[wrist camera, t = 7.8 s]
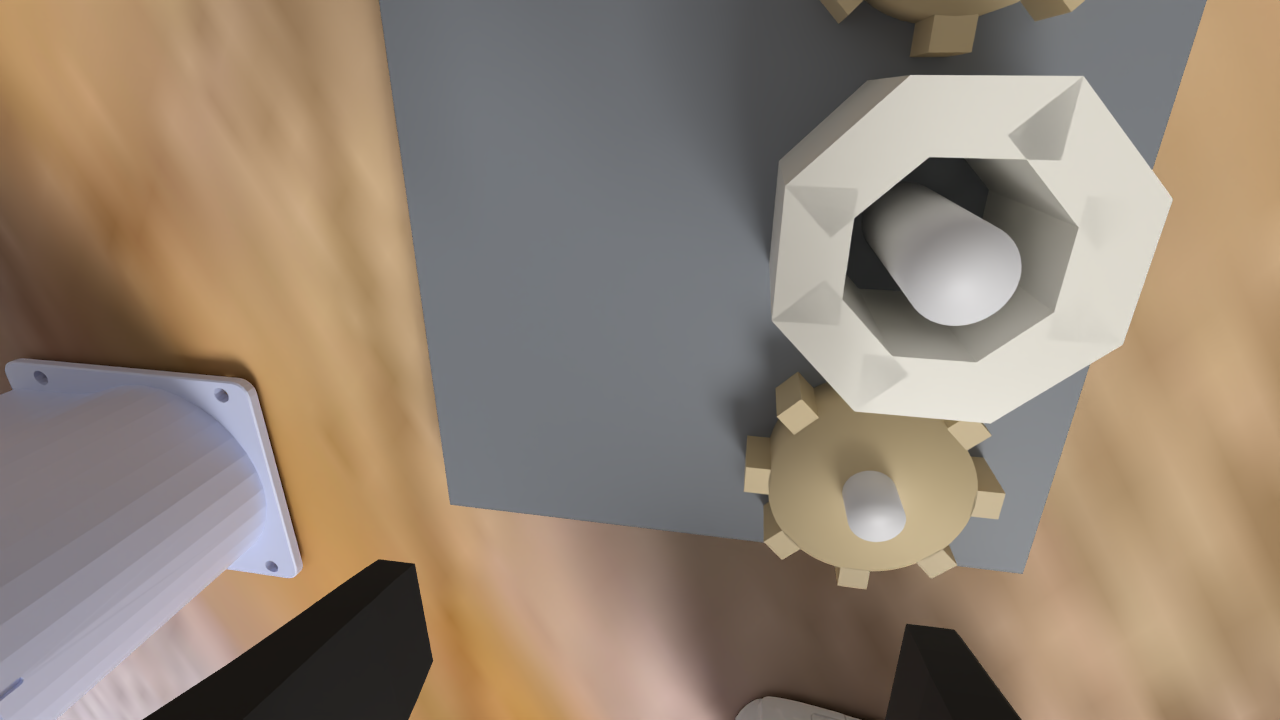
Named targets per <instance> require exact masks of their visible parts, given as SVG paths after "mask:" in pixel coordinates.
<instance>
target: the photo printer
mask: <svg viewBox="0 0 1280 720" xmlns="http://www.w3.org/2000/svg"><path fill="white" fill-rule="evenodd" d="M735 720H861V719H857V718H854V717H850V716H847V715H844V714H841V713H839V712H835V711H831V710H827V709H824V708H820V707H817V706H813V705H809V704H806V703H802V702H798V701H793V700H789V699H783V698H778V697H770V696H767V697H764V698H763V699H756V700H754V701H752V702H750V703H749V704H747V705H746V706H745V707H744V708H743V709H742V710H741V711H740V712H739V714H738V715H737V717H736V718H735Z"/></svg>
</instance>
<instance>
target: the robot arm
mask: <svg viewBox="0 0 1280 720" xmlns="http://www.w3.org/2000/svg"><path fill="white" fill-rule="evenodd" d="M5 373H6V376H7V378H8V380H9V382H10V385H11V387H12V389H13V390H11V391H9V392H6V393H4V394H1V395H0V720H57V719H58V718H59V717H60V716H61V715H62V714H63V713H64V712H66V711H67V710H68V709H69V708H70V707H71V706H72V705H73V704H75V703H76V702H77V701H78V700H79V699H80V698H81V697H83V696H84V695H85V694H86V693H87V692H88V691H89V690H90V689H92V688H93V687H94V686H95V685H96V684H97V683H98V682H99V681H101V680H102V679H103V678H104V677H105V676H106V675H107V674H108V673H110V672H111V671H112V670H113V669H114V668H115V667H116V666H117V665H119V664H120V663H121V662H122V661H123V660H124V659H125V658H126V657H128V656H129V655H130V654H131V653H132V652H133V651H134V650H135V649H137V648H138V647H139V646H140V645H141V644H142V643H143V642H145V641H146V640H147V639H148V638H149V637H150V636H151V635H152V634H154V633H155V632H156V631H157V630H158V629H159V628H160V627H161V626H163V625H164V624H165V623H166V622H167V621H168V620H169V619H170V618H172V617H173V616H174V615H175V614H176V613H177V612H178V611H179V610H181V609H182V608H183V607H184V606H185V605H186V604H187V603H188V602H190V601H191V600H192V599H193V598H194V597H195V596H196V595H198V594H199V593H200V592H201V591H202V590H203V589H204V588H205V587H207V586H208V585H209V584H210V583H211V582H212V581H213V580H214V579H216V578H217V577H218V576H219V575H220V574H221V573H222V572H223V571H225V570H226V569H230V570H237V571H244V572H250V573H257V574H264V575H271V576H277V577H284V578H293V577H295V576H296V575H297V574H298V573H299V572H300V571H301V570H302V568H303V563H302V559H301V556H300V552H299V548H298V545H297V541H296V537H295V533H294V530H293V526H292V522H291V518H290V515H289V511H288V507H287V504H286V500H285V496H284V492H283V489H282V485H281V481H280V478H279V474H278V470H277V466H276V463H275V459H274V455H273V451H272V448H271V444H270V440H269V437H268V433H267V429H266V425H265V422H264V418H263V414H262V411H261V407H260V403H259V399H258V396H257V392H256V390H255V388H254V386H253V385H252V384H251V383H250V382H248V381H247V380H245V379H241V378H235V377H224V376H213V375H202V374H191V373H180V372H169V371H158V370H147V369H136V368H125V367H114V366H103V365H92V364H81V363H70V362H59V361H48V360H37V359H26V358H20V359H16V360H13V361H10V362H8V363H7V364H6V366H5ZM224 390H225V391H226V392H227V394H228V395H227V394H226V393H225V391H224ZM432 662H433V658H432V653H431V648H430V642H429V637H428V632H427V626H426V621H425V616H424V610H423V605H422V600H421V594H420V589H419V584H418V579H417V573H416V568H415V564H412V563H404V562H396V561H388V560H377V561H376V562H374V563H372V564H371V565H369V566H368V567H366V568H365V569H363V570H362V571H360V572H359V573H357V574H356V575H355V576H353V577H352V578H350V579H349V580H347V581H346V582H344V583H343V584H342V585H340V586H339V587H337V588H336V589H335V590H333V591H332V592H330V593H329V594H327V595H326V596H325V597H323V598H322V599H320V600H319V601H318V602H316V603H315V604H313V605H312V606H311V607H309V608H308V609H306V610H305V611H304V612H302V613H301V614H299V615H298V616H296V617H295V618H294V619H292V620H291V621H289V622H288V623H286V624H285V625H284V626H282V627H281V628H279V629H278V630H276V631H275V632H274V633H272V634H271V635H269V636H268V637H266V638H265V639H263V640H262V641H261V642H259V643H258V644H256V645H255V646H253V647H252V648H251V649H249V650H248V651H246V652H245V653H243V654H242V655H240V656H239V657H238V658H236V659H235V660H233V661H232V662H230V663H229V664H227V665H226V666H224V667H223V668H221V669H220V670H218V671H217V672H215V673H213V674H212V675H210V676H209V677H207V678H206V679H204V680H203V681H201V682H200V683H198V684H197V685H195V686H193V687H192V688H190V689H189V690H187V691H186V692H184V693H183V694H181V695H180V696H178V697H177V698H175V699H173V700H172V701H170V702H169V703H167V704H166V705H164V706H163V707H161V708H160V709H158V710H157V711H155V712H154V713H152V714H150V715H149V716H147V717H146V718H144V719H143V720H408V719H409V717H410V715H411V712H412V710H413V708H414V706H415V703H416V701H417V699H418V696H419V694H420V691H421V689H422V687H423V684H424V682H425V679H426V677H427V674H428V672H429V669H430V667H431V665H432ZM885 720H1021V718H1020V717H1019V716H1018V714H1017V713H1016V712H1015V710H1014V709H1013V708H1012V706H1011V705H1010V704H1009V702H1008V701H1007V700H1006V698H1005V697H1004V696H1003V694H1002V693H1001V692H1000V690H999V689H998V687H997V686H996V685H995V683H994V682H993V681H992V679H991V678H990V677H989V675H988V674H987V672H986V671H985V670H984V668H983V667H982V666H981V664H980V663H979V661H978V660H977V659H976V657H975V656H974V655H973V653H972V652H971V651H970V649H969V648H968V646H967V645H966V644H965V642H964V641H963V640H962V638H961V637H960V636H959V635H958V634H957V632H956V631H955V630H952V629H944V628H936V627H928V626H920V625H911V624H906V628H905V632H904V637H903V641H902V646H901V651H900V655H899V660H898V664H897V669H896V673H895V678H894V683H893V687H892V692H891V696H890V701H889V706H888V710H887V715H886V719H885Z"/></svg>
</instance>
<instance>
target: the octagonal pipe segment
mask: <svg viewBox="0 0 1280 720" xmlns="http://www.w3.org/2000/svg"><path fill="white" fill-rule="evenodd" d="M929 157H946V158H964V159H965V160H966V161H967V163H968V164H969V165H970V166H971V168H972V169H973V170H974V171H975V173H976V174H977V175H978V177H979V178H980V179H981V180H982V182H983V183H984V184H985V185H986V187H987V188H988V189H989V192H988V196H987V201H986V205H985V209H984V214H983V218H982V219H983V220H985V221H987V222H989V223H990V224H992V225H994V226H996V227H998V228H999V229H1001V230H1003V231H1004V232H1005V233H1006V234H1008V235H1009V236H1010V237H1011V239H1012V240H1013V241H1014V243H1015V244H1016V246H1017V248H1018V250H1019V253H1020V257H1021V264H1022V267H1021V276H1020V280H1019V283H1018V286H1017V288H1016V290H1015V292H1014V293H1013V295H1012V296H1011V298H1010V299H1009V300H1008V302H1007V303H1006V304H1005V305H1004V306H1003V307H1002V308H1001V309H1000V310H998V311H997V312H996V313H994V314H993V315H991V316H989V317H988V318H986V319H983V320H981V321H979V322H976V323H972V324H968V325H961V326H949V325H943V324H938V323H935V322H933V321H930V320H929V319H927V318H925V317H924V316H922V315H921V314H920V313H919V312H918V311H917V310H916V309H915V308H914V307H913V305H912V304H911V303H910V301H909V300H908V298H907V297H906V296H905V294H904V293H903V291H891V290H874V289H859V288H858V287H857V286H856V285H855V284H854V283H853V282H852V280H851V279H850V278H849V277H848V276H847V275H846V271H847V264H848V257H849V250H850V243H851V236H852V230H853V223H854V218H855V217H856V216H858V215H859V214H860V213H861V212H863V211H864V210H865V209H866V208H867V207H869V206H870V205H871V204H872V203H874V202H875V201H876V200H877V199H879V198H880V197H881V196H882V195H883V194H885V193H886V192H887V191H888V190H890V189H891V188H892V187H893V186H894V185H896V184H897V183H898V182H899V181H901V180H902V179H903V178H904V177H906V176H907V175H908V174H909V173H910V172H912V171H913V170H914V169H915V168H917V167H918V166H919V165H920V164H922V163H923V162H924V161H925V160H926V159H928V158H929ZM1172 200H1173V198H1172V197H1171V196H1170V194H1169V193H1168V191H1167V190H1166V189H1165V187H1164V186H1163V185H1162V183H1161V182H1160V180H1159V179H1158V178H1157V176H1156V175H1155V174H1154V172H1153V171H1152V169H1151V168H1150V167H1149V165H1148V164H1147V163H1146V161H1145V160H1144V158H1143V157H1142V156H1141V154H1140V153H1139V152H1138V150H1137V149H1136V147H1135V146H1134V145H1133V143H1132V142H1131V141H1130V139H1129V138H1128V136H1127V135H1126V134H1125V132H1124V131H1123V130H1122V128H1121V127H1120V125H1119V124H1118V123H1117V121H1116V120H1115V118H1114V117H1113V116H1112V114H1111V113H1110V112H1109V110H1108V109H1107V107H1106V106H1105V105H1104V103H1103V102H1102V101H1101V99H1100V98H1099V96H1098V95H1097V94H1096V92H1095V91H1094V90H1093V88H1092V87H1091V85H1090V84H1089V83H1088V81H1087V80H1086V79H1085V77H1084V76H1000V75H906V76H899V77H891V78H883V79H875V80H867V81H866V82H865V83H864V84H863V85H862V86H861V87H859V88H858V89H857V90H856V91H855V92H854V93H853V94H852V95H851V96H850V97H849V98H847V99H846V100H845V101H844V102H843V103H842V104H841V105H840V106H839V107H838V108H836V109H835V110H834V111H833V112H832V113H831V114H830V115H829V116H828V117H827V118H825V119H824V120H823V121H822V122H821V123H820V124H819V125H818V126H817V127H816V128H814V129H813V130H812V131H811V132H810V133H809V134H808V135H807V136H806V137H805V138H803V139H802V140H801V141H800V142H799V143H798V144H797V145H796V146H795V147H794V148H792V149H791V150H790V151H789V152H788V153H787V154H786V155H785V156H784V157H783V158H781V159H780V160H779V165H778V175H777V186H776V196H775V207H774V218H773V228H772V239H771V249H770V260H769V270H770V293H771V316H772V322H773V323H774V324H775V325H776V326H777V327H778V328H779V329H780V330H781V331H782V333H783V334H784V335H785V336H786V337H787V338H788V339H789V340H790V341H791V342H792V344H793V345H794V346H795V347H796V348H797V349H798V350H799V351H800V352H801V353H802V354H803V356H804V357H805V358H806V359H807V360H808V361H809V362H810V363H811V364H812V365H813V367H814V368H815V369H816V370H817V371H818V372H819V373H820V374H821V375H822V376H823V378H824V379H825V380H826V381H827V382H828V383H829V384H830V385H831V386H832V387H833V388H834V390H835V391H836V392H837V393H838V394H839V395H840V396H841V397H842V398H843V399H844V401H845V402H846V403H847V404H848V405H849V406H850V407H851V408H852V409H853V410H854V411H855V412H866V413H877V414H889V415H900V416H911V417H922V418H934V419H945V420H956V421H967V422H978V423H990V424H991V423H992V422H994V421H996V420H997V419H999V418H1001V417H1002V416H1004V415H1006V414H1007V413H1009V412H1011V411H1012V410H1014V409H1016V408H1017V407H1019V406H1021V405H1022V404H1024V403H1026V402H1027V401H1029V400H1031V399H1032V398H1034V397H1036V396H1038V395H1039V394H1041V393H1043V392H1044V391H1046V390H1048V389H1049V388H1051V387H1053V386H1054V385H1056V384H1058V383H1059V382H1061V381H1063V380H1064V379H1066V378H1068V377H1069V376H1071V375H1073V374H1074V373H1076V372H1078V371H1079V370H1081V369H1083V368H1084V367H1086V366H1088V365H1089V364H1091V363H1093V362H1095V361H1096V360H1098V359H1100V358H1101V357H1103V356H1105V355H1106V354H1108V353H1110V352H1111V351H1113V350H1115V349H1116V348H1118V347H1120V346H1121V345H1123V342H1124V339H1125V337H1126V334H1127V331H1128V328H1129V325H1130V322H1131V319H1132V316H1133V313H1134V310H1135V308H1136V305H1137V302H1138V299H1139V296H1140V293H1141V290H1142V287H1143V284H1144V281H1145V279H1146V276H1147V273H1148V270H1149V267H1150V264H1151V261H1152V258H1153V255H1154V253H1155V250H1156V247H1157V244H1158V241H1159V238H1160V235H1161V232H1162V229H1163V226H1164V224H1165V221H1166V218H1167V215H1168V212H1169V209H1170V206H1171V203H1172Z"/></svg>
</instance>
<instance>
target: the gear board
mask: <svg viewBox="0 0 1280 720" xmlns="http://www.w3.org/2000/svg"><path fill="white" fill-rule="evenodd" d="M1206 1H1207V0H379V4H380V11H381V18H382V25H383V32H384V39H385V47H386V54H387V61H388V68H389V75H390V82H391V89H392V96H393V103H394V110H395V117H396V124H397V131H398V138H399V145H400V153H401V160H402V167H403V174H404V181H405V188H406V195H407V202H408V209H409V216H410V223H411V230H412V237H413V244H414V251H415V259H416V266H417V273H418V280H419V287H420V294H421V301H422V308H423V315H424V322H425V329H426V336H427V343H428V350H429V358H430V365H431V372H432V379H433V386H434V393H435V400H436V407H437V414H438V421H439V428H440V435H441V442H442V449H443V456H444V464H445V471H446V478H447V485H448V492H449V499H450V505H458V506H466V507H475V508H483V509H491V510H499V511H508V512H516V513H524V514H533V515H541V516H549V517H557V518H566V519H574V520H582V521H590V522H599V523H607V524H615V525H623V526H632V527H640V528H648V529H656V530H665V531H673V532H681V533H690V534H698V535H706V536H714V537H723V538H731V539H739V540H747V541H756V542H764V543H765V544H766V545H767V546H768V547H769V548H770V549H771V550H772V551H773V552H774V553H775V554H776V555H777V556H778V557H779V558H780V559H781V560H783V559H785V558H786V557H788V556H790V555H791V554H793V553H795V552H796V551H798V550H800V549H801V550H803V551H804V552H805V553H807V554H808V555H810V556H812V557H814V558H816V559H818V560H820V561H822V562H825V563H827V564H830V565H833V566H834V567H835V573H836V580H837V586H843V587H851V588H859V589H866V590H867V585H868V579H869V574H870V571H886V570H894V569H898V568H903V567H907V566H910V565H913V564H916V563H917V564H918V565H919V566H920V567H921V568H922V569H923V570H924V572H925V573H926V574H927V575H928V576H929V577H930V578H931V579H932V578H934V577H936V576H938V575H940V574H942V573H943V572H945V571H947V570H949V569H951V568H953V567H955V566H962V567H970V568H979V569H987V570H995V571H1004V572H1012V573H1020V574H1023V571H1024V568H1025V565H1026V562H1027V559H1028V555H1029V552H1030V549H1031V546H1032V543H1033V540H1034V537H1035V534H1036V531H1037V527H1038V524H1039V521H1040V518H1041V515H1042V512H1043V509H1044V506H1045V503H1046V499H1047V496H1048V493H1049V490H1050V487H1051V484H1052V481H1053V478H1054V475H1055V471H1056V468H1057V465H1058V462H1059V459H1060V456H1061V453H1062V450H1063V446H1064V443H1065V440H1066V437H1067V434H1068V431H1069V428H1070V425H1071V422H1072V418H1073V415H1074V412H1075V409H1076V406H1077V403H1078V400H1079V397H1080V394H1081V390H1082V387H1083V384H1084V381H1085V378H1086V375H1087V372H1088V369H1089V366H1090V364H1089V365H1088V366H1086V367H1084V368H1083V369H1081V370H1079V371H1078V372H1076V373H1074V374H1073V375H1071V376H1069V377H1068V378H1066V379H1064V380H1063V381H1061V382H1059V383H1058V384H1056V385H1054V386H1053V387H1051V388H1049V389H1048V390H1046V391H1044V392H1043V393H1041V394H1039V395H1038V396H1036V397H1034V398H1032V399H1031V400H1029V401H1027V402H1026V403H1024V404H1022V405H1021V406H1019V407H1017V408H1016V409H1014V410H1012V411H1011V412H1009V413H1007V414H1006V415H1004V416H1002V417H1001V418H999V419H997V420H996V421H994V422H992V423H991V424H990V423H978V422H967V421H956V420H945V419H934V418H922V417H911V416H900V415H889V414H877V413H866V412H855V411H854V410H853V409H852V408H851V407H850V406H849V405H848V404H847V403H846V402H845V401H844V399H843V398H842V397H841V396H840V395H839V394H838V393H837V392H836V391H835V390H834V388H833V387H832V386H831V385H830V384H829V383H828V382H827V381H826V380H825V379H824V378H823V376H822V375H821V374H820V373H819V372H818V371H817V370H816V369H815V368H814V367H813V365H812V364H811V363H810V362H809V361H808V360H807V359H806V358H805V357H804V356H803V354H802V353H801V352H800V351H799V350H798V349H797V348H796V347H795V346H794V345H793V344H792V342H791V341H790V340H789V339H788V338H787V337H786V336H785V335H784V334H783V333H782V331H781V330H780V329H779V328H778V327H777V326H776V325H775V324H774V323H773V322H772V316H771V293H770V270H769V260H770V249H771V239H772V228H773V218H774V207H775V196H776V186H777V175H778V165H779V160H780V159H781V158H783V157H784V156H785V155H786V154H787V153H788V152H789V151H790V150H791V149H792V148H794V147H795V146H796V145H797V144H798V143H799V142H800V141H801V140H802V139H803V138H805V137H806V136H807V135H808V134H809V133H810V132H811V131H812V130H813V129H814V128H816V127H817V126H818V125H819V124H820V123H821V122H822V121H823V120H824V119H825V118H827V117H828V116H829V115H830V114H831V113H832V112H833V111H834V110H835V109H836V108H838V107H839V106H840V105H841V104H842V103H843V102H844V101H845V100H846V99H847V98H849V97H850V96H851V95H852V94H853V93H854V92H855V91H856V90H857V89H858V88H859V87H861V86H862V85H863V84H864V83H865V82H866V81H867V80H875V79H883V78H891V77H899V76H906V75H1000V76H1084V77H1085V79H1086V80H1087V81H1088V83H1089V84H1090V85H1091V87H1092V88H1093V90H1094V91H1095V92H1096V94H1097V95H1098V96H1099V98H1100V99H1101V101H1102V102H1103V103H1104V105H1105V106H1106V107H1107V109H1108V110H1109V112H1110V113H1111V114H1112V116H1113V117H1114V118H1115V120H1116V121H1117V123H1118V124H1119V125H1120V127H1121V128H1122V130H1123V131H1124V132H1125V134H1126V135H1127V136H1128V138H1129V139H1130V141H1131V142H1132V143H1133V145H1134V146H1135V147H1136V149H1137V150H1138V152H1139V153H1140V154H1141V156H1142V157H1143V158H1144V160H1145V161H1146V163H1147V164H1148V165H1149V167H1150V168H1151V169H1153V166H1154V163H1155V160H1156V157H1157V154H1158V151H1159V148H1160V144H1161V141H1162V138H1163V135H1164V132H1165V129H1166V126H1167V123H1168V120H1169V116H1170V113H1171V110H1172V107H1173V104H1174V101H1175V98H1176V95H1177V91H1178V88H1179V85H1180V82H1181V79H1182V76H1183V73H1184V70H1185V67H1186V63H1187V60H1188V57H1189V54H1190V51H1191V48H1192V45H1193V42H1194V39H1195V35H1196V32H1197V29H1198V26H1199V23H1200V20H1201V17H1202V14H1203V11H1204V7H1205V4H1206ZM988 192H989V189H988V188H987V187H986V185H985V184H984V183H983V182H982V180H981V179H980V178H979V177H978V175H977V174H976V173H975V171H974V170H973V169H972V168H971V166H970V165H969V164H968V163H967V161H966V160H965V159H964V158H946V157H929V158H928V159H926V160H925V161H924V162H923V163H922V164H920V165H919V166H918V167H917V168H915V169H914V170H913V171H912V172H910V173H909V174H908V175H907V176H906V177H904V178H903V179H902V180H901V181H899V182H898V183H897V184H896V185H894V186H893V187H892V188H891V189H890V190H888V191H887V192H886V193H885V194H883V195H882V196H881V197H880V198H879V199H877V200H876V201H875V202H874V203H872V204H871V205H870V206H869V207H867V208H866V209H865V210H864V211H863V212H861V213H860V214H859V215H858V216H856V217H855V218H854V223H853V230H852V236H851V243H850V250H849V257H848V264H847V271H846V275H847V276H848V277H849V278H850V279H851V280H852V282H853V283H854V284H855V285H856V286H857V287H858V288H859V289H874V290H891V291H903V293H904V294H905V296H906V297H907V298H908V300H909V301H910V303H911V304H912V305H913V307H914V308H915V309H916V310H917V311H918V312H919V313H920V314H921V315H922V316H924V317H925V318H927V319H929V320H930V321H933V322H935V323H938V324H943V325H949V326H961V325H968V324H972V323H976V322H979V321H981V320H983V319H986V318H988V317H989V316H991V315H993V314H994V313H996V312H997V311H998V310H1000V309H1001V308H1002V307H1003V306H1004V305H1005V304H1006V303H1007V302H1008V300H1009V299H1010V298H1011V296H1012V295H1013V293H1014V292H1015V290H1016V288H1017V286H1018V283H1019V280H1020V276H1021V267H1022V264H1021V257H1020V253H1019V250H1018V248H1017V246H1016V244H1015V243H1014V241H1013V240H1012V239H1011V237H1010V236H1009V235H1008V234H1006V233H1005V232H1004V231H1003V230H1001V229H999V228H998V227H996V226H994V225H992V224H990V223H989V222H987V221H985V220H983V219H982V218H983V214H984V209H985V205H986V201H987V196H988Z"/></svg>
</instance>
